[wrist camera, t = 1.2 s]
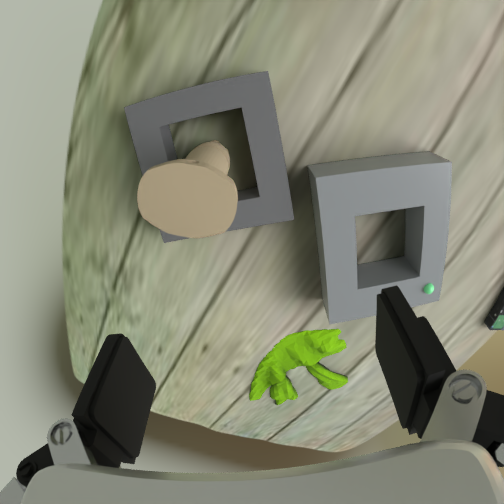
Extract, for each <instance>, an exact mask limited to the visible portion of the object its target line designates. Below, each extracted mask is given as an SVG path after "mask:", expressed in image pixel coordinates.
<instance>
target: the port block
mask: <svg viewBox="0 0 504 504" xmlns="http://www.w3.org/2000/svg"><path fill="white" fill-rule="evenodd" d="M307 166H308V173H309V180H310V187H311V195H312V203H313V211H314V219H315V227H316V236H317V245H318V255H319V265H320V275H321V286H322V298H323V303H324V306H325V310H326V313H327V317H328V321H329V324H334V323H339V322H345V321H350V320H355V319H360V318H365V317H370V316H375V315H376V310H377V294H380V293H381V290H382V289H384V288H388V287H392V286H396V285H397V286H398V287H399V288H400V290H401V292H402V293H403V295H404V297H405V298H406V300H407V302H408V303H409V305H410V307H415V306H419V305H423V304H427V303H431V302H435V301H439V297H440V292H441V286H442V279H443V273H444V266H445V258H446V250H447V241H448V231H449V219H450V204H451V176H452V162H451V161H449V160H447V159H445V158H443V157H440V156H438V155H436V154H434V153H432V152H430V151H429V152H416V153H405V154H394V155H384V156H375V157H366V158H358V159H350V160H342V161H335V162H327V163H320V164H313V165H307ZM405 208H406V224H405V252H404V256H402V257H397V258H391V259H386V260H381V261H375V262H370V263H364V264H359V265H357V248H356V226H355V216H359V215H366V214H372V213H379V212H385V211H392V210H398V209H405Z"/></svg>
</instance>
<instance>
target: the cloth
mask: <svg viewBox="0 0 504 504" xmlns="http://www.w3.org/2000/svg"><path fill="white" fill-rule="evenodd" d="M340 333H341V331H340V330H339V329H331V330H327V329H324V330H313V331H308V330H307V331H302V332H298V333H293V334H290V335H288V336H286V337H285V338H283V339H282V340H281V341H280V343H278V344H276V345H275V346H274V347H275V348H273V349H272V351H270V352H269V353H268V354H267V355H266V357H265V358H264V359H263V360H262V361H261V363H260V364H259V367H258V368H257V371H256V373H255V377H254V379H253V382H252V384H251V391H250V394H249V397H250V401H251V400H258V399H260V398H261V396H262V394H263V393H264V392H265V390H266V389H267V388H268V387H269V386H271V387H270V397H271V398H272V399H275V400H276V402H275V404H276V405H279V404H282V403H283V402H285V401H286V400H287V399H290V400H295V399H296V398H297V397H298V394H297V392H296V390H295V389H294V387H293V386H292V383H291V381H290V379H289V378H288V377H287V375H286V371H288V370H290V369H294V368H296V367H298V366H306V368H307V370H308V371H309V372H310V373H311V374H312V375H313V376H314V377H316V378H317V379H318V382H319V383H320V384H321V385H323V386H325V387H326V388H328V389H331V390H332V389H337V388H340V387H342V386H343V385H345V384H346V383H347V382H348V378H347V376H344V375H340V374H336V373H333V372H332V371H330V370H329V369H328V368H326V367H325V366H323V365H322V364H320V363H319V361H320V360H321V358H323V357H326V356H329V355H332V354H335V353H338V352H341V351H342V350H343V349H345V348H346V343H345V341H344V340H339V339H338V335H339V334H340Z"/></svg>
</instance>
